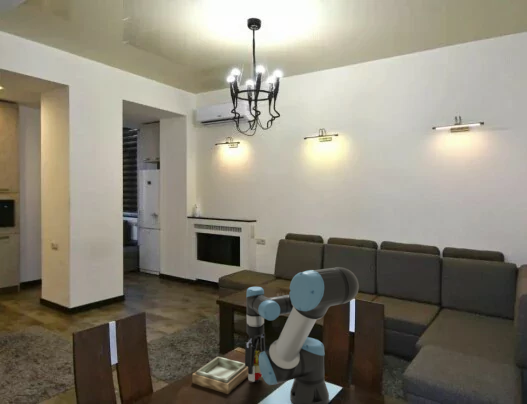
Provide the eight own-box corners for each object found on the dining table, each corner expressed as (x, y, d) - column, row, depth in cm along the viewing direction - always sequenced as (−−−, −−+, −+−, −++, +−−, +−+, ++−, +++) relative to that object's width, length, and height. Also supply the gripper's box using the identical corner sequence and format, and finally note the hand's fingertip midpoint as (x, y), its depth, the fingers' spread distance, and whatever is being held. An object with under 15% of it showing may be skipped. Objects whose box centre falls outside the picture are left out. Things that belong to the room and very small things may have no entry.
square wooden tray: (250, 374, 161) (250, 363, 161) (227, 394, 145) (227, 382, 145) (217, 365, 169) (217, 355, 169) (192, 383, 153) (192, 371, 153)
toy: (265, 378, 157) (265, 344, 157) (261, 386, 150) (261, 351, 150) (250, 376, 159) (249, 342, 159) (245, 384, 152) (244, 349, 152)
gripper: (258, 315, 164) (258, 365, 165) (235, 329, 148) (236, 385, 148) (273, 318, 161) (273, 369, 161) (251, 333, 144) (251, 389, 145)
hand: (255, 376), depth 155 cm, fingers closed on toy, 6 cm apart
